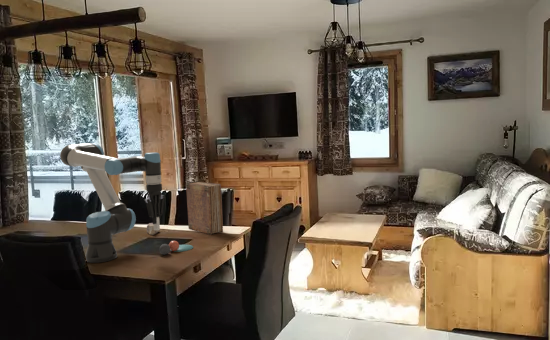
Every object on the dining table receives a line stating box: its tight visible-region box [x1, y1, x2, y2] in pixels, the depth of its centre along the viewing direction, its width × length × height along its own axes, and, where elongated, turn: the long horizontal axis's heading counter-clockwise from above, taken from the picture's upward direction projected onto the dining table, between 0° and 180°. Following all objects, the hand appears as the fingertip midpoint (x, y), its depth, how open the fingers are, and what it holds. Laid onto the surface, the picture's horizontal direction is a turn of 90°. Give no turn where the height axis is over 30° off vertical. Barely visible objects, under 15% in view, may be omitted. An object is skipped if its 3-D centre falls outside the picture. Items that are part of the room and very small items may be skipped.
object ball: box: [168, 240, 180, 252], centre depth 239 cm, size 6×6×6 cm
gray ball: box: [159, 243, 171, 256], centre depth 233 cm, size 6×6×6 cm
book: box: [185, 181, 224, 236], centre depth 282 cm, size 25×9×30 cm, turn 43°
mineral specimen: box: [146, 222, 161, 236], centre depth 281 cm, size 13×7×6 cm, turn 33°
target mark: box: [170, 244, 194, 253], centre depth 244 cm, size 13×13×1 cm
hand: (156, 229), depth 226 cm, fingers closed
